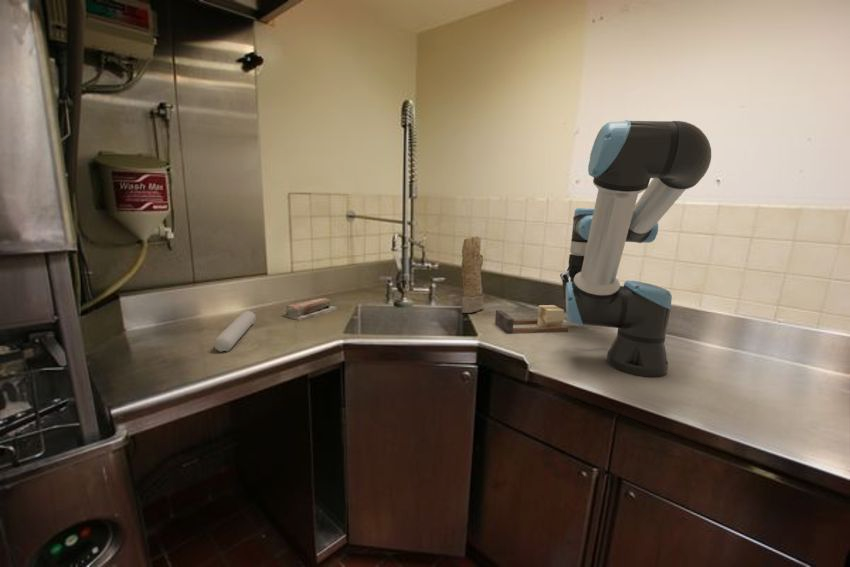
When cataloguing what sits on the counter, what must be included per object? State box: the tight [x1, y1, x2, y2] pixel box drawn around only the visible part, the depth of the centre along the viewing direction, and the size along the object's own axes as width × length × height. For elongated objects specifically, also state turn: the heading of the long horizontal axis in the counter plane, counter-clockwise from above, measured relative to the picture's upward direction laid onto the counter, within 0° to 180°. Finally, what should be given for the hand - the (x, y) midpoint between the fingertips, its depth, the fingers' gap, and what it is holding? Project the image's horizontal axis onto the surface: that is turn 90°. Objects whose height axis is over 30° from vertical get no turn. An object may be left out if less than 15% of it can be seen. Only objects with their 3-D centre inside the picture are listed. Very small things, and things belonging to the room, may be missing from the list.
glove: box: [460, 235, 485, 314], centre depth 158 cm, size 14×10×30 cm
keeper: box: [536, 304, 565, 327], centre depth 138 cm, size 6×6×7 cm
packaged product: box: [281, 297, 338, 322], centre depth 148 cm, size 18×5×10 cm
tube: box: [213, 310, 257, 353], centre depth 120 cm, size 5×5×25 cm
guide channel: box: [494, 309, 569, 335], centre depth 137 cm, size 12×22×6 cm, turn 101°
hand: (573, 320), depth 140 cm, fingers closed
